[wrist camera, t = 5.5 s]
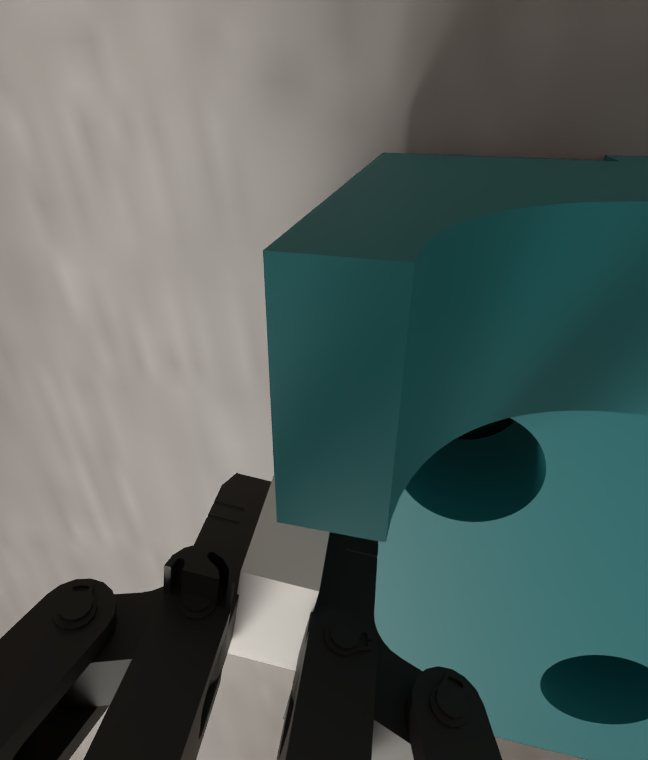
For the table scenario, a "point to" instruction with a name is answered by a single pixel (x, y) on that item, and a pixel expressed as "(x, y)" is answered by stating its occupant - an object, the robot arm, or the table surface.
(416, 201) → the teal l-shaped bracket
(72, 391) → the table surface
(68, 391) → the table surface
